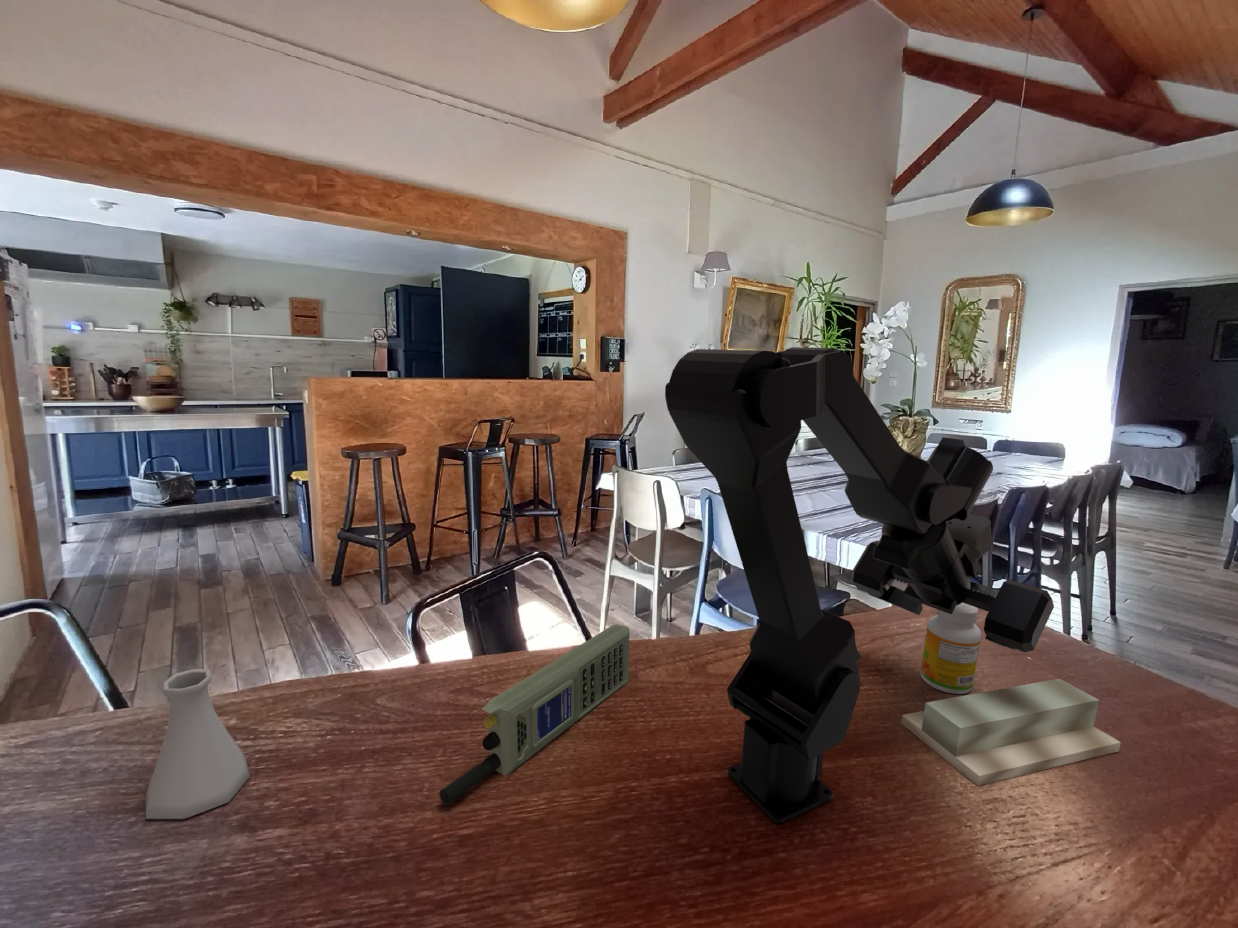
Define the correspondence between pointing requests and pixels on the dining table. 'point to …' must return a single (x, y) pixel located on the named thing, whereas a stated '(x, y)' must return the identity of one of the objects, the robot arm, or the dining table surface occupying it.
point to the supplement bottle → (951, 650)
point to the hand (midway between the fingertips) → (959, 626)
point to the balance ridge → (1013, 730)
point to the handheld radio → (547, 705)
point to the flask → (193, 753)
